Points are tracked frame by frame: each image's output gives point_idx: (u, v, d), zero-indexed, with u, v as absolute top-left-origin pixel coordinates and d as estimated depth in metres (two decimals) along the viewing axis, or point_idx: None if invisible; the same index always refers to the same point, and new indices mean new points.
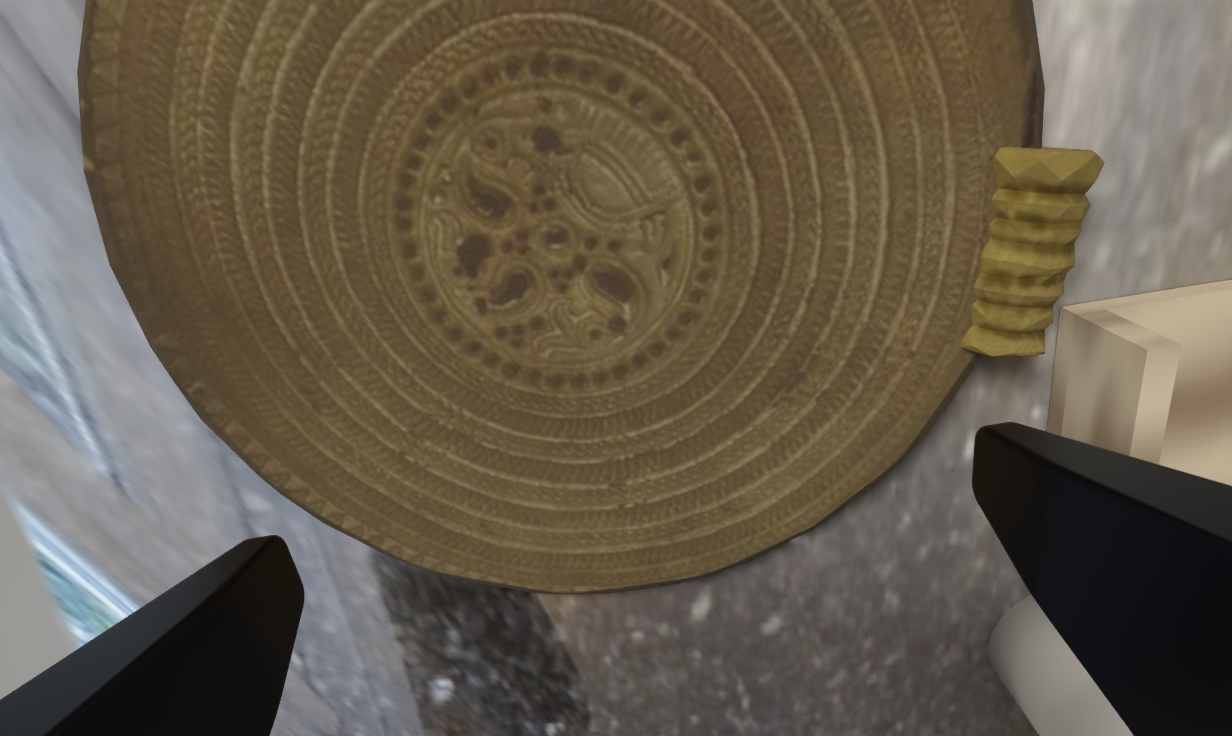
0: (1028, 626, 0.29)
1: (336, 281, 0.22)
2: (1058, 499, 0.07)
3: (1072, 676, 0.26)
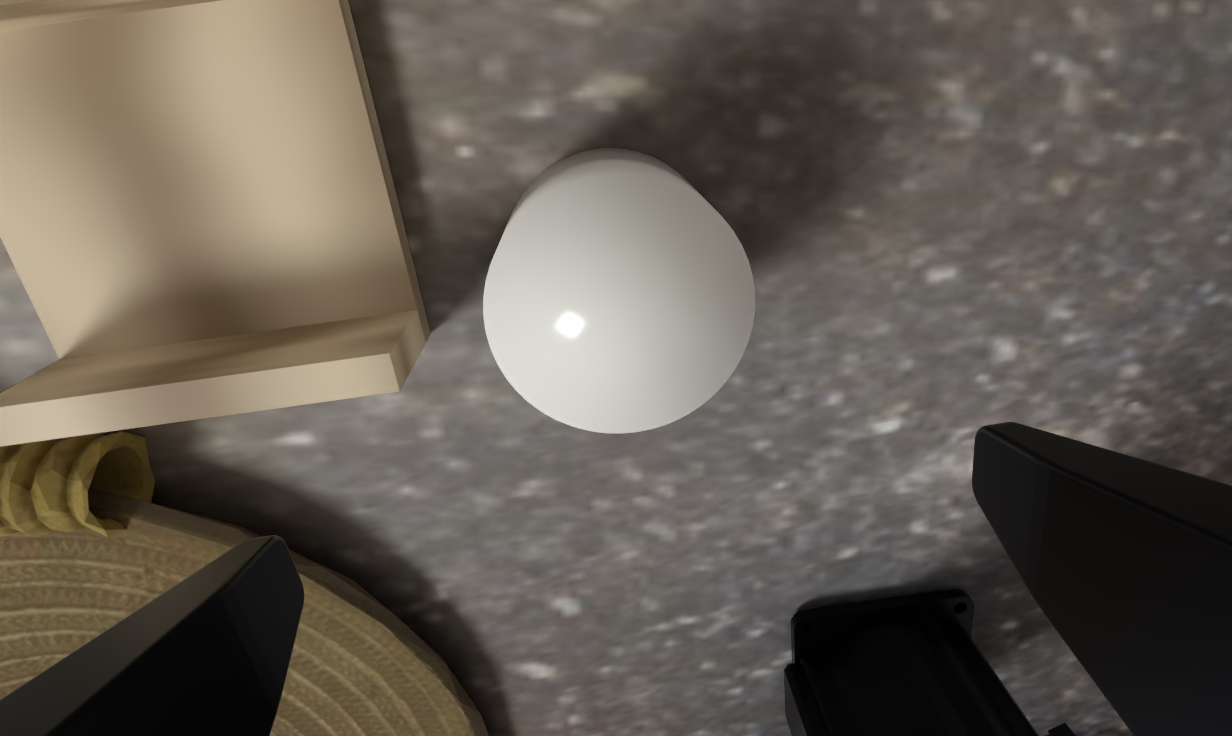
0: None
1: None
2: (1058, 499, 0.07)
3: None
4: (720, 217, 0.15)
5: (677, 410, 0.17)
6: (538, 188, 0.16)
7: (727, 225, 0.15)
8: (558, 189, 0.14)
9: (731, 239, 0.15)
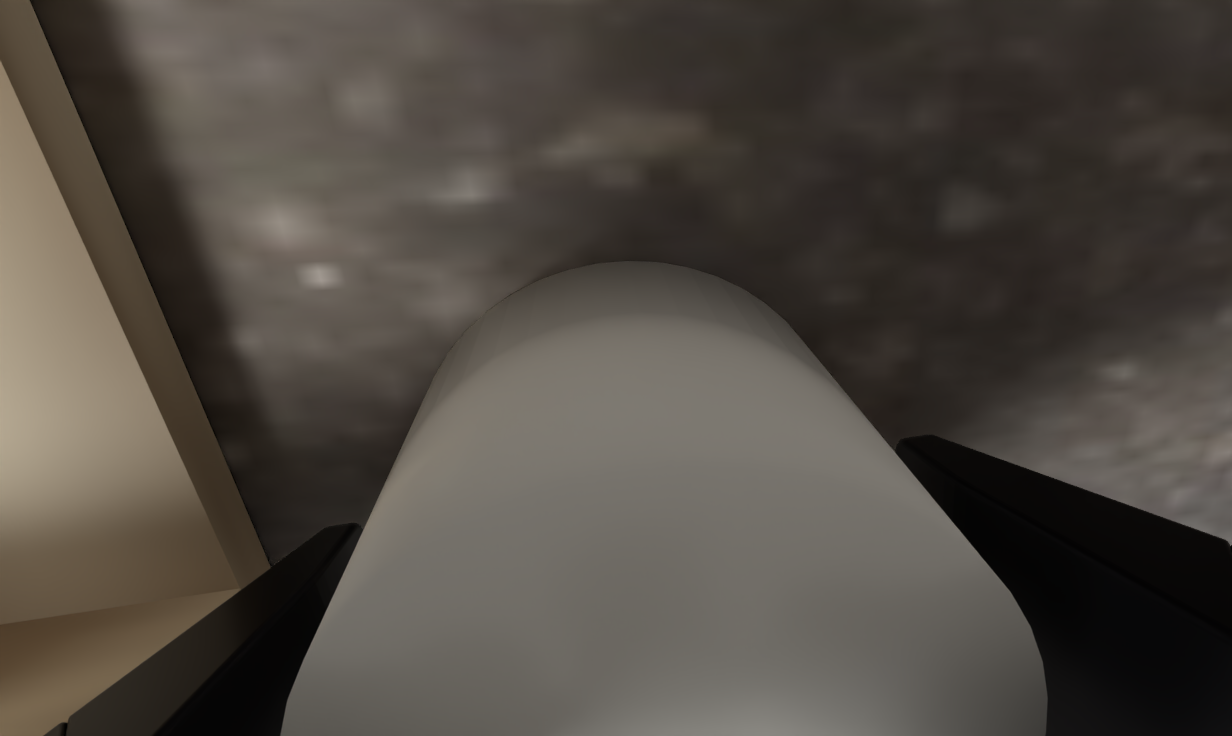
0: None
1: None
2: (962, 514, 0.07)
3: None
4: (977, 561, 0.05)
5: None
6: (452, 411, 0.06)
7: (997, 583, 0.05)
8: (477, 508, 0.04)
9: (1001, 613, 0.05)
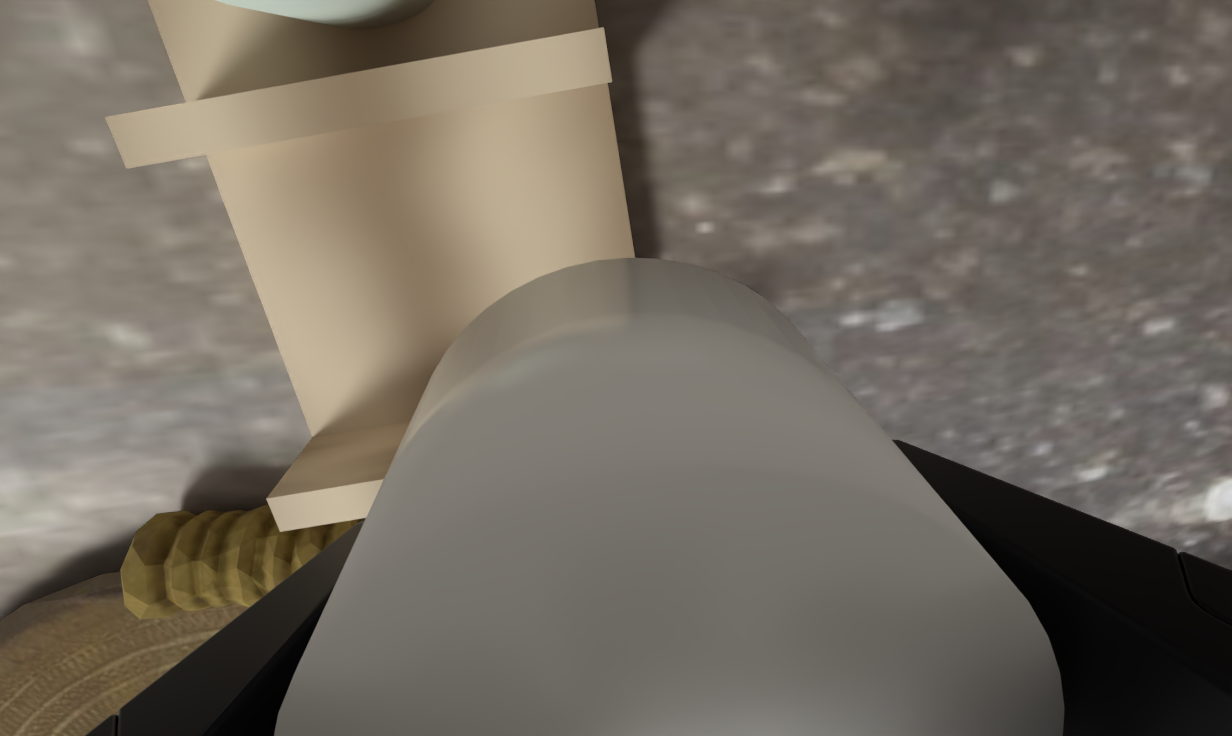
0: None
1: None
2: None
3: None
4: (994, 570, 0.05)
5: None
6: (450, 413, 0.06)
7: (1015, 593, 0.05)
8: (476, 515, 0.04)
9: (1018, 623, 0.05)
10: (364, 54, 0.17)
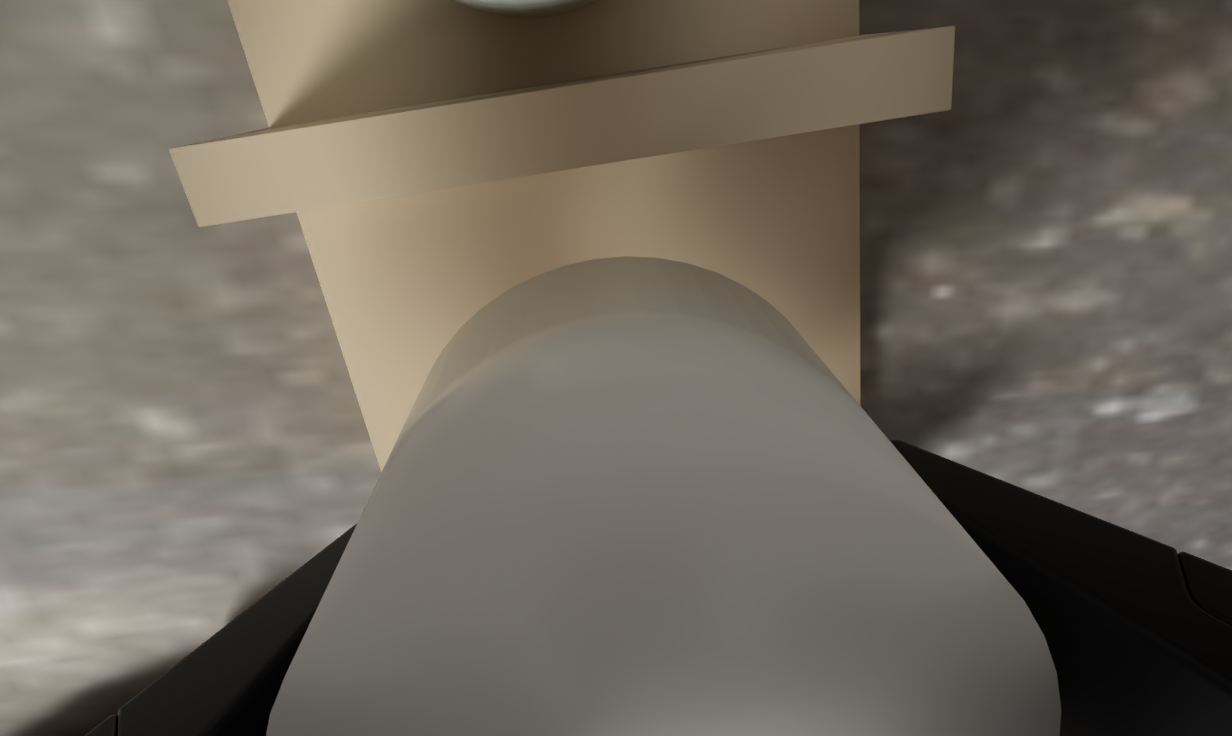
0: None
1: None
2: None
3: None
4: (990, 569, 0.05)
5: None
6: (444, 411, 0.06)
7: (1011, 592, 0.05)
8: (468, 514, 0.04)
9: (1014, 623, 0.05)
10: (525, 54, 0.12)
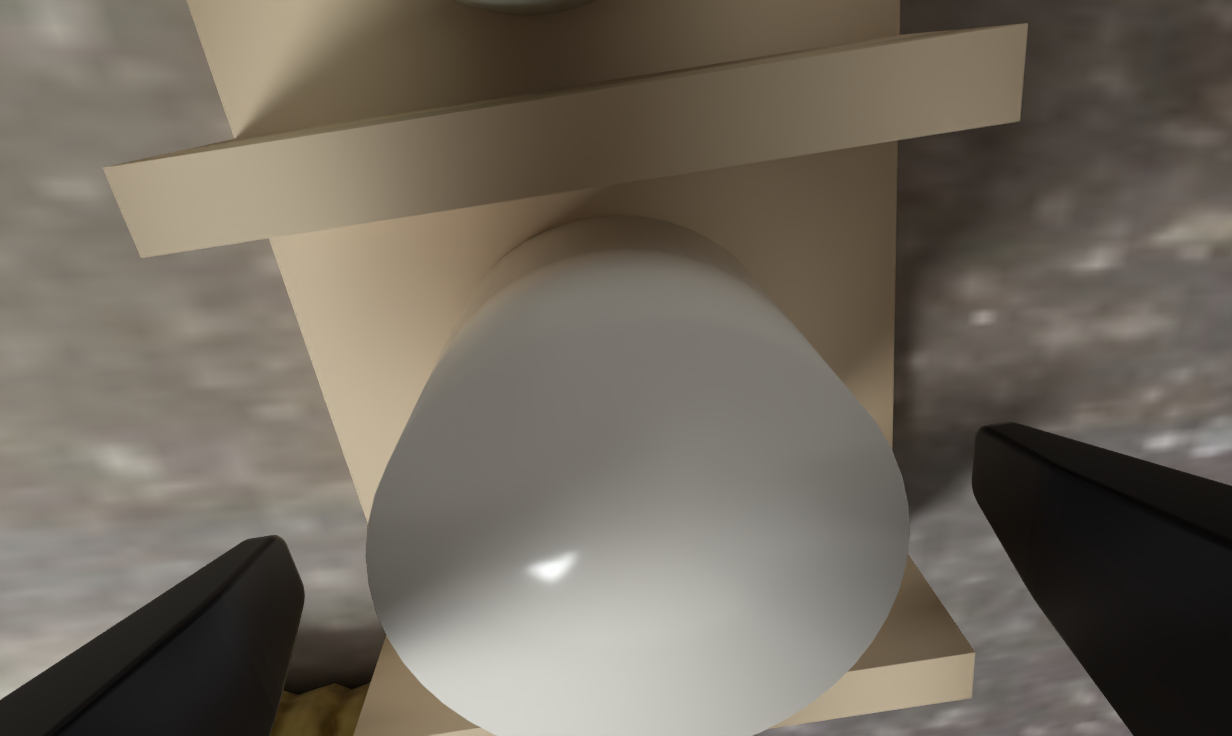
0: None
1: None
2: (1058, 499, 0.07)
3: None
4: (850, 396, 0.07)
5: (748, 723, 0.09)
6: (483, 314, 0.09)
7: (864, 412, 0.07)
8: (509, 351, 0.07)
9: (869, 437, 0.07)
10: (523, 55, 0.10)
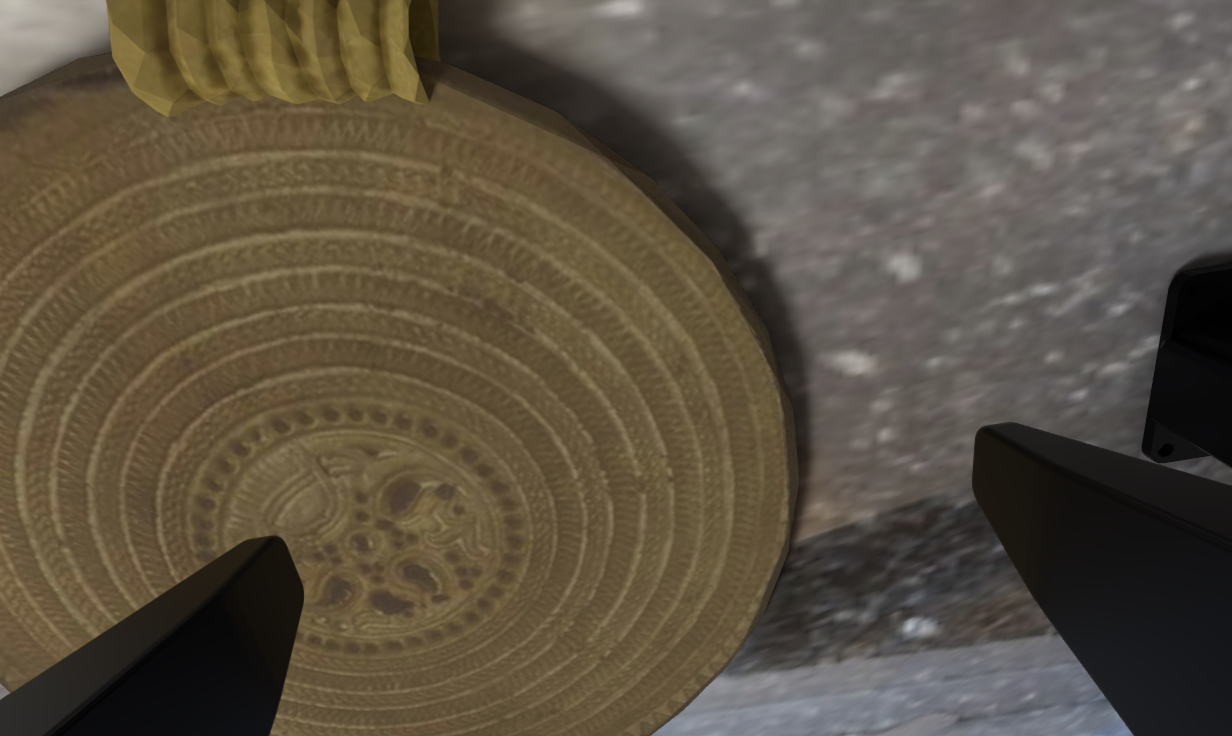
0: None
1: (431, 692, 0.25)
2: (1058, 499, 0.07)
3: None
4: None
5: None
6: None
7: None
8: None
9: None
10: None
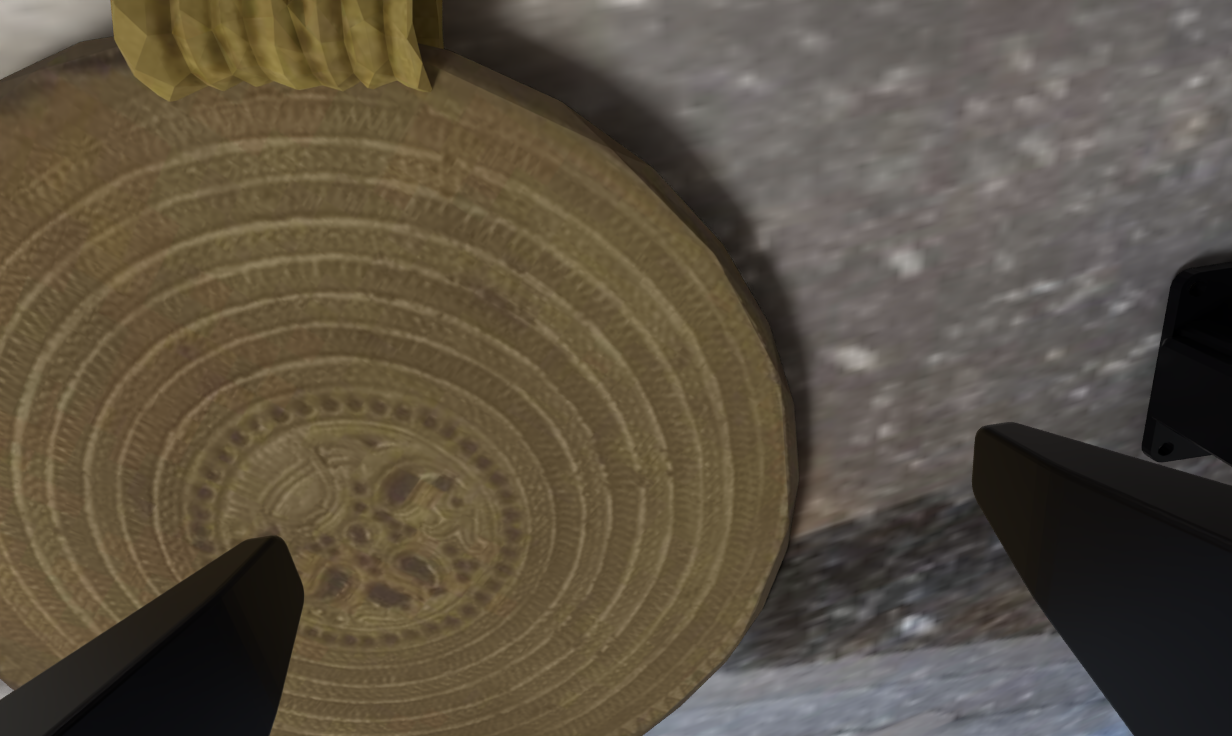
0: None
1: (427, 685, 0.25)
2: (1058, 499, 0.07)
3: None
4: None
5: None
6: None
7: None
8: None
9: None
10: None
